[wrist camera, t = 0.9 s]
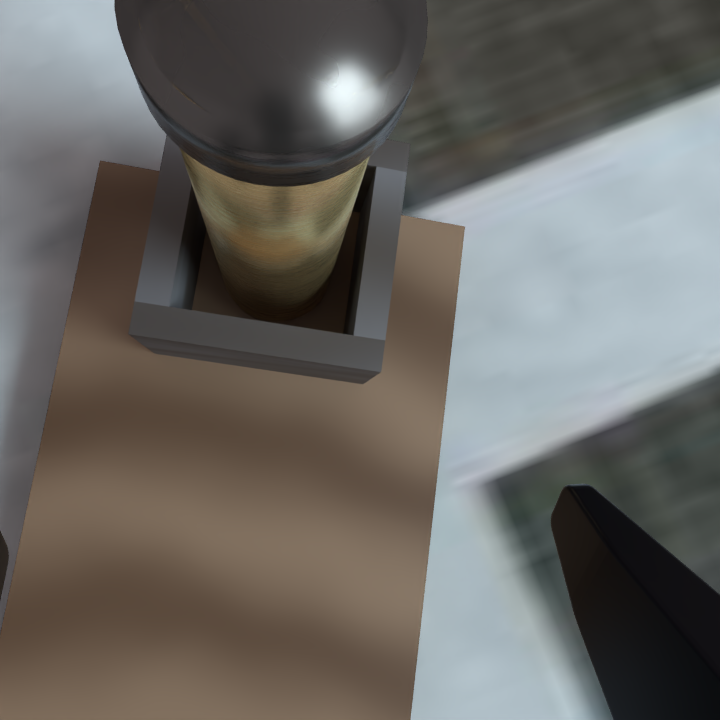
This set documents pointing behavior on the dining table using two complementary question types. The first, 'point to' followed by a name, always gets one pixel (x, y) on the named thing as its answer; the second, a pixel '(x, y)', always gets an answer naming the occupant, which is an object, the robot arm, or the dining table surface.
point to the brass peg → (275, 123)
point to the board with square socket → (233, 472)
